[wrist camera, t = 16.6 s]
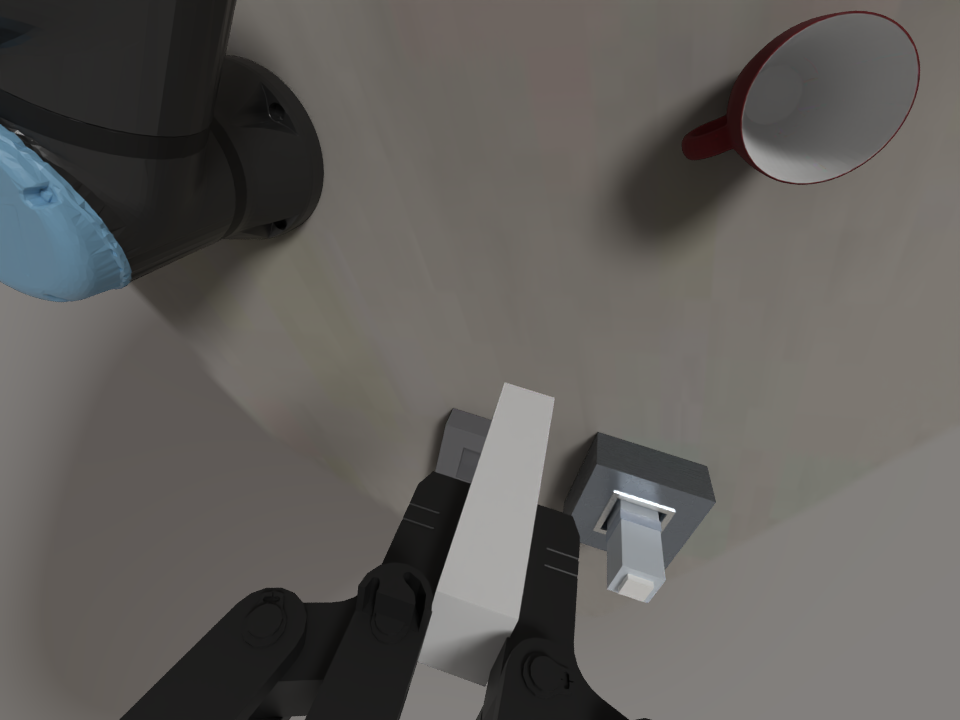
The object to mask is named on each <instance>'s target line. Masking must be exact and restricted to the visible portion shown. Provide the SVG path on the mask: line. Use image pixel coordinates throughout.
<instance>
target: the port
mask: <svg viewBox="0 0 960 720" xmlns="http://www.w3.org/2000/svg"><path fill="white" fill-rule="evenodd" d="M617 498H618V499H622V500H625V501H628V502H631V503H634V504H637V505H640V506H643V507H646V508H649V509H652V510H655V511H658V515H659V521H661V529H662V531H661V542H662V551H663V560H664V569H666V568H667V566H668V565H669V564H670V562H671V561H672V560H673V558H674V557H675V556H676V554H677V553H678V552H679V551H680V549H681V548H682V547H683V545H684V544H685V543H686V541H687V540H688V539H689V537H690V536H691V535H692V533H693V532H694V531H695V529H696V528H697V527H698V525H699V524H700V523H701V521H702V520H703V519H704V517H705V516H706V515H707V513H708V512H709V511H710V509H711V508H712V507H713V505H714V504H715V503H716V500H715V496H714V492H713V488H712V484H711V480H710V476H709V472H708V468H707V466H704V465H701V464H698V463H695V462H691V461H688V460H685V459H682V458H679V457H676V456H672V455H669V454H666V453H663V452H660V451H657V450H653V449H650V448H647V447H644V446H641V445H638V444H634V443H631V442H628V441H625V440H622V439H619V438H615V437H612V436H609V435H606V434H603V433H599V432H598V433H597V435H596V437H595V439H594V441H593V443H592V445H591V447H590V450H589V452H588V454H587V456H586V458H585V460H584V462H583V464H582V466H581V468H580V471H579V473H578V475H577V477H576V479H575V481H574V483H573V485H572V487H571V489H570V492H569V494H568V496H567V498H566V500H565V502H564V510H563V513H565V514H568V515H571V516H573V518H574V521H575V524H576V526H577V529H578V532H579V535H580V543H583V544H586V545H589V546H592V547H595V548H598V549H601V550H604V551H607V543H606V532H607V516H608V514H609V513H610V511H611V509H612V507H613V505H614V504H615V502H616V500H617Z"/></svg>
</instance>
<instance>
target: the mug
mask: <svg viewBox="0 0 960 720" xmlns="http://www.w3.org/2000/svg"><path fill="white" fill-rule="evenodd" d="M919 80H920V62H919V56H918V52H917V49H916V46H915V44H914V42H913V40H912V38H911V37H910V35H909V34H908V32H907V31H906V30H905V29H904V28H903V27H902V26H901V25H899V24H898V23H897V22H895V21H894V20H892V19H890V18H888V17H886V16H884V15H881V14H877V13H873V12H866V11H848V12H840V13H834V14H829V15H824V16H820V17H816V18H813V19H810V20H808V21H805V22H802V23H800V24H798V25H796V26H794V27H792V28H790V29H788V30H787V31H785V32H783V33H782V34H780V35H779V36H777V37H776V38H775V39H773V40H772V41H771V42H770V43H768V44H767V45H766V46H765V47H764V48H763V49H762V50H761V51H760V52H759V53H758V54H757V55H756V56H755V57H754V58H753V59H752V60H751V61H750V62H749V63H748V64H747V65H746V66H745V67H744V69H743V70H742V72H741V73H740V74H739V76H738V78H737V80H736V82H735V84H734V86H733V88H732V91H731V94H730V97H729V102H728V108H727V113H726V115H725V116H723V117H721V118H718V119H716V120H713V121H711V122H708V123H706V124H704V125H701V126H699V127H697V128H696V129H694V130H692V131H691V132H689V133H688V134H687V135H686V136H685V137H684V138H683V140H682V151H683V153H684V155H685V156H686V157H687V158H688V159H690V160H700V159H705V158H709V157H712V156H715V155H718V154H721V153H723V152H726V151H728V150H731V149H734V150H735V151H736V152H737V153H738V154H739V155H740V156H741V157H742V158H743V159H744V160H745V161H746V162H747V163H748V164H749V165H750V166H752V167H753V168H754V169H756V170H757V171H759V172H761V173H762V174H764V175H766V176H768V177H769V178H772V179H774V180H777V181H780V182H783V183H789V184H798V185H806V184H815V183H821V182H825V181H829V180H832V179H835V178H838V177H840V176H843V175H845V174H847V173H849V172H851V171H853V170H855V169H856V168H858V167H860V166H861V165H863V164H864V163H866V162H867V161H868V160H870V159H871V158H872V157H874V156H875V155H876V154H877V153H878V152H880V151H881V150H882V149H883V148H884V147H885V146H886V145H887V144H888V143H889V141H890V140H891V139H892V138H893V137H894V136H895V134H896V133H897V132H898V130H899V129H900V127H901V126H902V125H903V123H904V121H905V120H906V118H907V116H908V114H909V112H910V110H911V108H912V106H913V103H914V100H915V98H916V94H917V90H918V86H919Z"/></svg>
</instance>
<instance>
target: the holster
mask: <svg viewBox="0 0 960 720" xmlns="http://www.w3.org/2000/svg"><path fill="white" fill-rule="evenodd" d="M491 422H492V420H489V419H486V418H483V417H480V416H477V415H473V414H470V413H467V412H464V411H461V410H458V409H455V408H453V410H452V412H451V414H450V417H449V419H448V421H447V423H446V426H445V431H444V435H443V440H442V444H441V448H440V453H439V457H438V462H437V466H436V471H435V472H437V473H440V474H443V475H446V476H449V477H452V478H455V479H458V480H461V481H464V482H467V483H470V484H471V483H472V480H473V477H474V474H475V471H476V468H477V465H478V462H479V459H480V456H481V453H482V450H483V447H484V444H485V441H486V438H487V435H488V432H489V429H490V426H491Z"/></svg>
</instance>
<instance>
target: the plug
mask: <svg viewBox="0 0 960 720" xmlns="http://www.w3.org/2000/svg"><path fill="white" fill-rule="evenodd" d="M661 531H662V529H661V521H659V515H658V511H655V510H652V509H649V508H646V507H643V506H640V505H637V504H634V503H631V502H628V501H625V500H622V499H618V498H617V500H616V502H615V504H614V505H613V507H612V509H611V511H610V513H609V514H608V516H607V532H606V543H607V589H608V590H611V591H614V592H617V593H619V594H622V595H625V596H628V597H630V598H633V599H636V600H639V601H642V602H646V603H648V602H649V601H650V600H651V599H652V597H653V596H654V595H655V593H656V592H657V591H658V589H659V588H660V587H661V586H662V584H663V583H664V582H665V580H666V578H665V569H664V560H663V551H662V542H661Z"/></svg>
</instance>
